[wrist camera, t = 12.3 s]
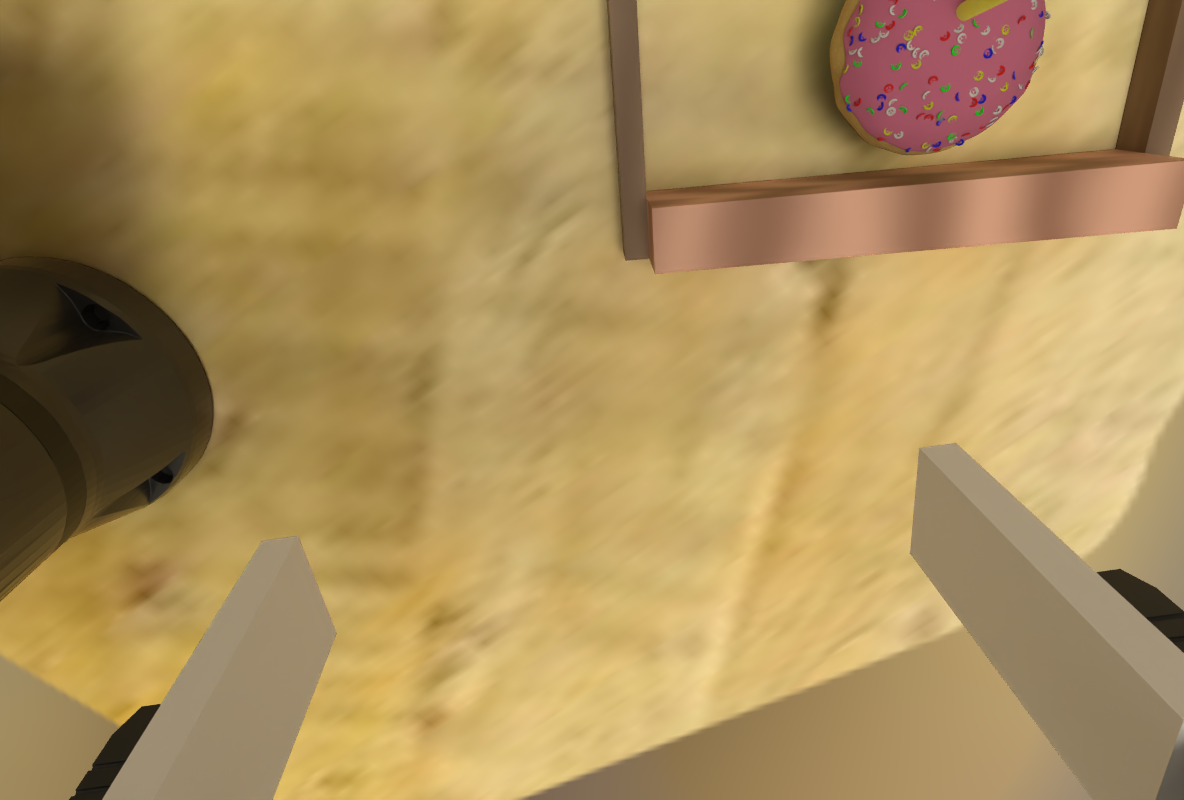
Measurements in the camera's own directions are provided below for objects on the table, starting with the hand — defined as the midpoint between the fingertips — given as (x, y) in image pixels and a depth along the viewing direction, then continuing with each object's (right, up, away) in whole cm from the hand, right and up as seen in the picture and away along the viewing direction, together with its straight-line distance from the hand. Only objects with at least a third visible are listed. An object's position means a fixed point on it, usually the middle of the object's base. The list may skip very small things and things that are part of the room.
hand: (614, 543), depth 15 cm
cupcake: (+14, +20, +18) cm, 30 cm away
